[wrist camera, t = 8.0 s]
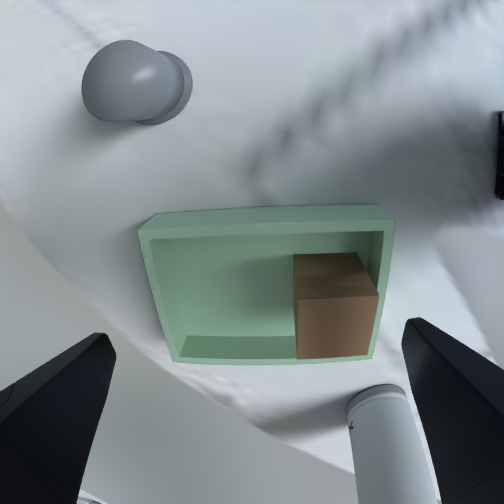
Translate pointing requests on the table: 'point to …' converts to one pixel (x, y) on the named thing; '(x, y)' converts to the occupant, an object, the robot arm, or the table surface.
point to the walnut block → (332, 305)
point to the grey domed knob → (135, 84)
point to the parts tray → (251, 275)
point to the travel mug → (387, 449)
